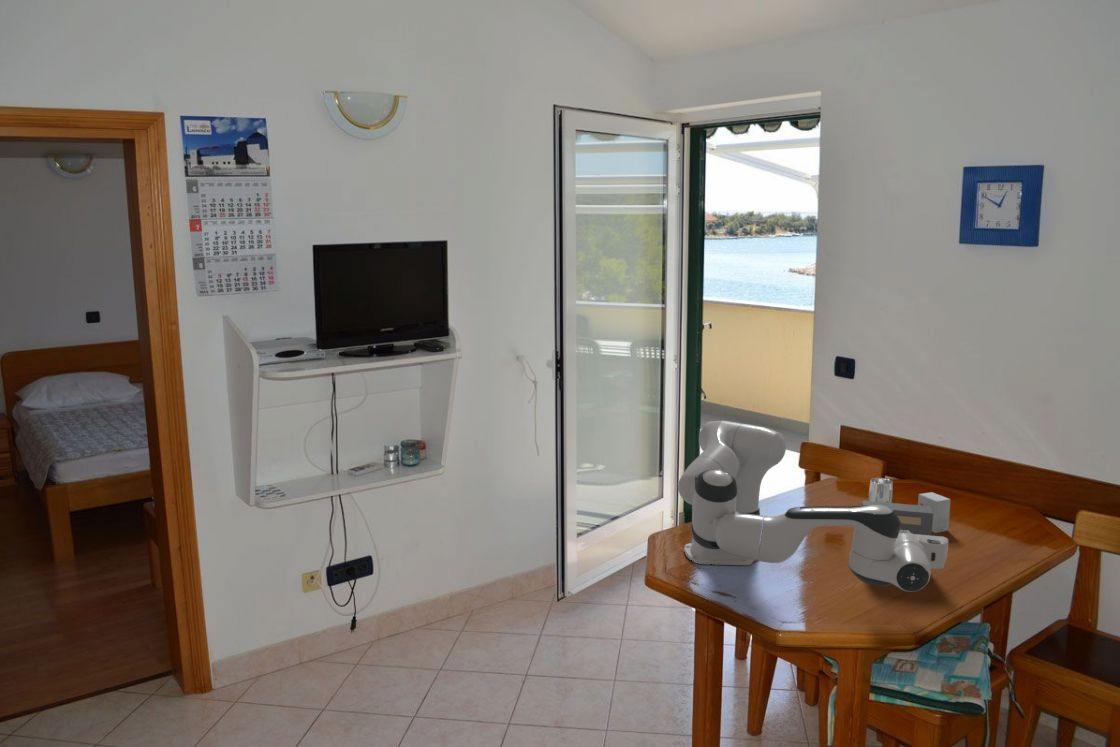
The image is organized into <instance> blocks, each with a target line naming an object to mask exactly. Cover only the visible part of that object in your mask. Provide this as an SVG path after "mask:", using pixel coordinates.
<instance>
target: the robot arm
mask: <svg viewBox="0 0 1120 747" xmlns="http://www.w3.org/2000/svg"><path fill="white" fill-rule="evenodd" d="M698 444H699V446H700V447H699V448H701V450H702V452H701V453H700V454H699V455H698V456H697V457H696V458H695V459H694V460H693V461H692V462H691V463H690V464H689V465H688V466H687V468H685V471H684V472H683V473H682V475H681V476H680V478H679V480H678V482H677V490H678V493H679V495H680V497H681V499H682V500H684V501H685V502H686V503H687V504H689V505H691V507H692V508H691V512H692V513H691V514H692V515H691V516H692V517H691V523H692V524H691V527H690V528H691V534H692V540H691V542H689V543H685V545H684V547H683V553H684V552H685V553H684V555H685V556H686V558H688V559H689V560H690V561H691V560H692V561H691V562H693V563H695V564H697V563H698V565H710V564H712V566H714V565H715V566H718V565H719V566H720V565H722V566H751V565H752V564H753V563H754V562H755V561H758V562H761V563H769V564H779V563H783V562H785V561H787V560H788V559H790V558H791V557H792V556H793V555H794V554H795V553H796V552H797V550H798V549H799V547H800V545H802V542H803V541H804V539H805V538H806V536H807V535H809V533H810V532H811V531H812V530H814V529H815V528H818V527H854V530H853V537H852V544H851V547H850V552H849V560H848V565H847V566H848V568H849V570H850V571H851V572H852V574H853V575H854V576H855V577H856V578H857V579H858V580H860V581H861V582H863V583H865V584H868V585H872V586H876V587H888V586H895V587H897V588H898V589H900V590H902V591H904V592H907V593H908V592H909V593H910V592H911V593H913V592H919V591H920V590H922V589H924V588H925V587H926V586H928V583H929V582H930V578H931V575H932V573H931V571H932V570H937V569H938V570H939V569H944V567H945V563H946V561H947V560H948V553H949V552H948V551H949V539H948V538H947V537H945V536H938V535H931V536H930V535H919V534H912V533H910V532H909V531H908V530H900V528H901V521H900V519H899V517H898V516H897V514H896V513H895V512H894V511H893V510H892V509H891V508H889V507H886V506H882V505H863V506H862V505H855V506H854V505H852V506H848V505H847V506H846V505H845V506H844V505H843V506H841V505H839V506H837V505H836V506H831V505H828V506H827V505H823V506H821V505H818V506H817V505H814V506H813V505H812V506H810V505H809V506H807V505H806V506H797V507H796V506H795V507H791V508H788V509H787V511H786V512H785V513H783V514H779V515H776V516H768V515H761V509H760V508H761V507H759V505H760V504H759V503H760V493H761V490H760V489H761V484H762V481H763V478H764V477H765V475H766V474H767V472H769V470H771V469H772V468H773V467H775V466H776V465H778V464H779V463H780V462H781V461H783V459H784V457H785V454H786V450H787V445H786V441H785V438H784V436H783V434H782V433H781V432H778V431H776V430H774V429H771V428H768V427H765V426H761V425H755V424H749V423H742V422H741V423H740V422H734V421H728V420H710V421H706V423H705V424H704V425H702V428H701V429H700V431H699V436H698ZM713 564H714V565H713Z"/></svg>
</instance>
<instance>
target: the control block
mask: <svg viewBox="0 0 1120 747" xmlns="http://www.w3.org/2000/svg"><path fill="white" fill-rule="evenodd" d="M863 505H882V506H886V507H889V508H891V509H892V510H893V511H894V512H895V513H896V514H897V516H898V517H899V519H900V521H901V528H900V530H908V531H909V532H910V533H912V534H919V535H930V536H933V535H932V533H933V532H932V523H933V511H932V508H931V506H920V505H918V504H907V503H905V504H904V503H896V502H894V503H893V502H891V503H886V502H874V501H869V500H862V505H861V506H863Z"/></svg>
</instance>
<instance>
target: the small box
mask: <svg viewBox="0 0 1120 747" xmlns="http://www.w3.org/2000/svg"><path fill="white" fill-rule="evenodd" d="M917 499H918V501H917V505H920V506H931V508H932V511H933V523H932V533H934V534H938V533H944V532H949V525H950V513H951V512H950V510H951V498H948V497H946V496H943V495H941V494H937V493H935V492H932V491H931V492H924V493H919V494H918V498H917Z"/></svg>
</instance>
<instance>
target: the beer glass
mask: <svg viewBox="0 0 1120 747" xmlns="http://www.w3.org/2000/svg"><path fill="white" fill-rule="evenodd" d="M893 486H894V485H893V480H891V479H888V478H886V477H885V478H884V477H873V478H871V479H870V483H869V490H868V501H874V502H886V503H892V500H893Z"/></svg>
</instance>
